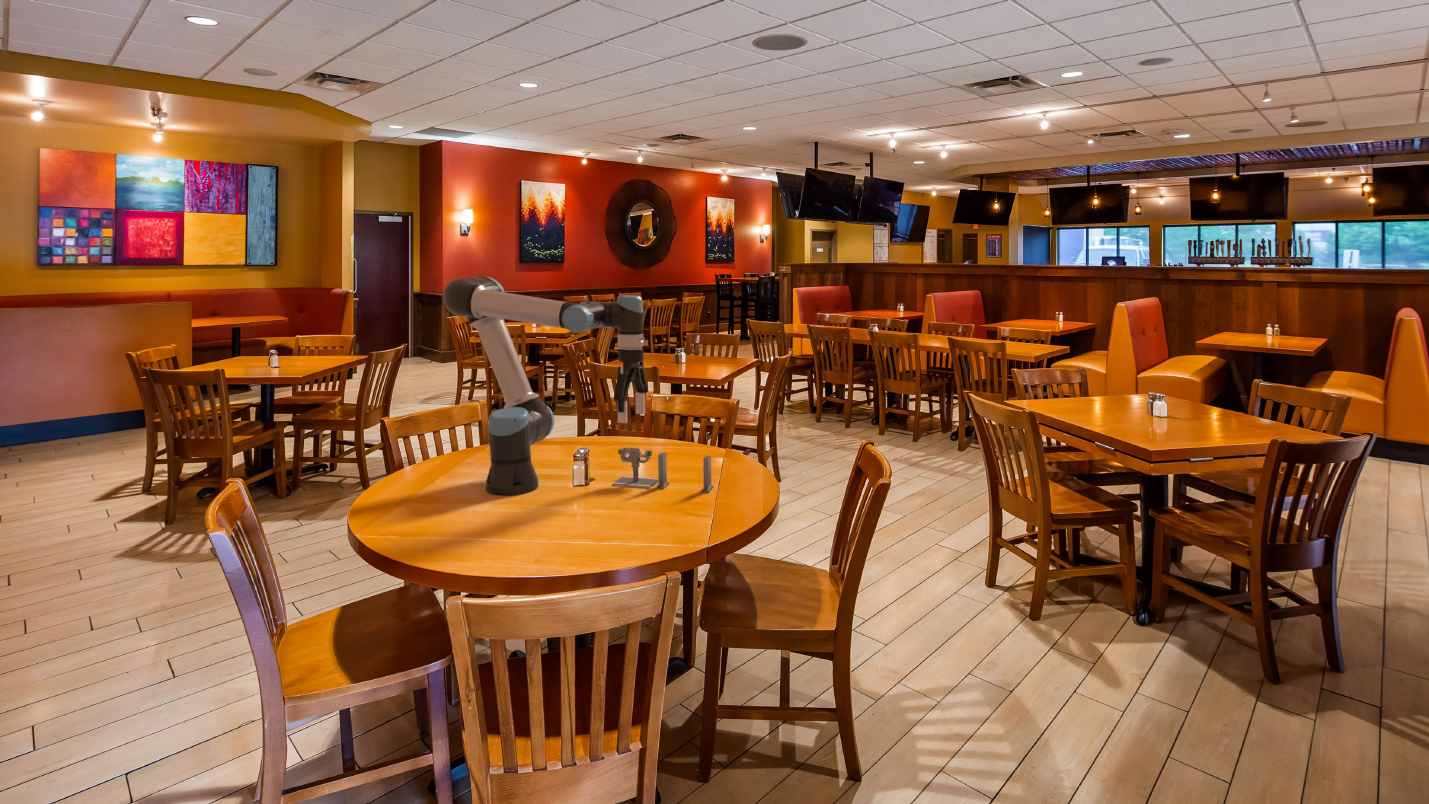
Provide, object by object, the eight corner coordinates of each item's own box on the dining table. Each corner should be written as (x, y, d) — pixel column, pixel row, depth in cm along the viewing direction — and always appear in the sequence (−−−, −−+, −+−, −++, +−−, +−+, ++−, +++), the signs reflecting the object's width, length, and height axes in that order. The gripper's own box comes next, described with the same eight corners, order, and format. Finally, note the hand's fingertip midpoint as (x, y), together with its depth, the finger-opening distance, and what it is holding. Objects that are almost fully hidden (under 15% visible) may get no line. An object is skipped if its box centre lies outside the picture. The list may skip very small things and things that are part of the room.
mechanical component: (650, 483, 233) (649, 451, 232) (618, 481, 236) (617, 449, 234) (653, 480, 236) (652, 449, 234) (621, 478, 239) (621, 447, 237)
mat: (612, 485, 234) (612, 483, 234) (622, 478, 242) (622, 476, 242) (649, 488, 231) (649, 486, 231) (659, 480, 238) (659, 478, 238)
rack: (656, 488, 231) (655, 455, 229) (661, 483, 236) (661, 451, 234) (709, 492, 226) (708, 459, 224) (713, 487, 231) (713, 455, 229)
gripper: (625, 353, 217) (626, 427, 221) (657, 343, 241) (658, 411, 245) (601, 352, 219) (602, 425, 223) (635, 343, 243) (636, 409, 247)
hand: (631, 418), depth 234 cm, fingers open, 13 cm apart
